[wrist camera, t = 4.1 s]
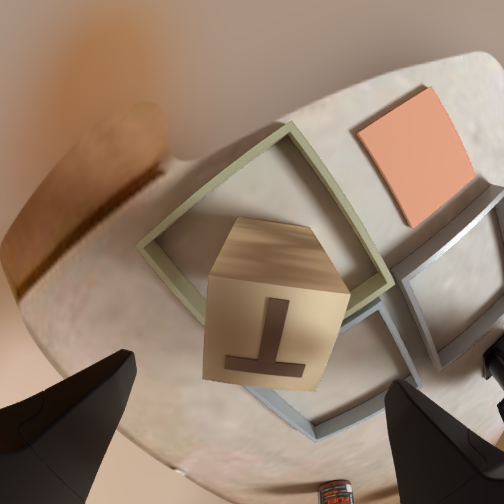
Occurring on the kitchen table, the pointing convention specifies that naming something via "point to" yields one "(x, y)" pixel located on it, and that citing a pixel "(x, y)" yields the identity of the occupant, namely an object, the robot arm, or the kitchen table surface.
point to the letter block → (272, 308)
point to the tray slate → (353, 415)
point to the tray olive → (148, 244)
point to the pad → (418, 155)
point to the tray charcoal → (434, 249)
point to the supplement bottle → (336, 493)
